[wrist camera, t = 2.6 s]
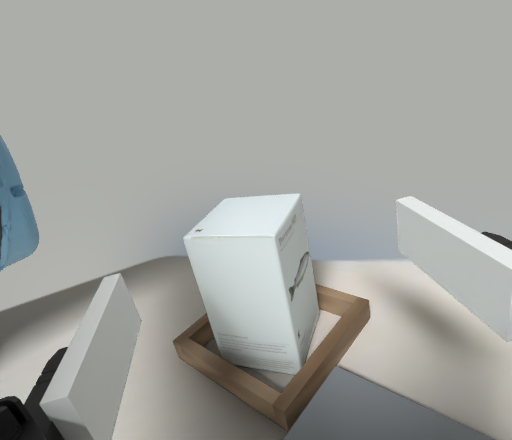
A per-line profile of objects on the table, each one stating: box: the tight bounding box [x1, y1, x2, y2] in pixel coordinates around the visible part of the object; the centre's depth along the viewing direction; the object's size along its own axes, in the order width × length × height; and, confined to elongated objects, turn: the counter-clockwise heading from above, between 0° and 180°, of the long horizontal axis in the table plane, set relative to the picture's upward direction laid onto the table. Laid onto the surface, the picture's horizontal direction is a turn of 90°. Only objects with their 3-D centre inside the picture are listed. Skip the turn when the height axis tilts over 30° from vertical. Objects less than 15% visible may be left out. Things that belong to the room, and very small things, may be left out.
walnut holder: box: [173, 284, 370, 432], centre depth 31 cm, size 12×12×2 cm
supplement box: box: [183, 194, 320, 375], centre depth 28 cm, size 7×7×13 cm
